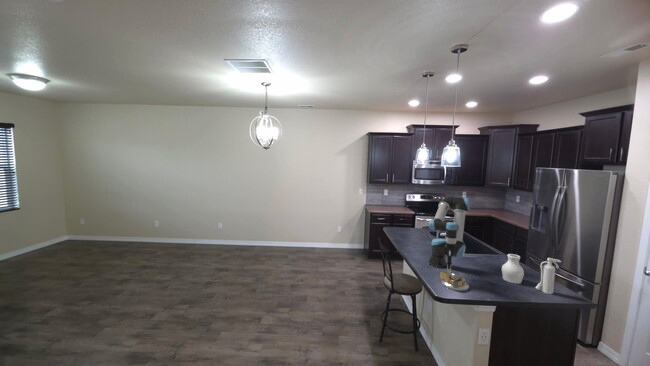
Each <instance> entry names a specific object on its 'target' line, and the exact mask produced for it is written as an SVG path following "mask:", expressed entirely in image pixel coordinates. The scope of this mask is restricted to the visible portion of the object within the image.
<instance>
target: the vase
mask: <svg viewBox="0 0 650 366" xmlns="http://www.w3.org/2000/svg"><path fill="white" fill-rule="evenodd" d="M520 259H521V256H520V255H518V254H514V253H508V254H507V261H506V262H505V263H504V264H502V265H501V273H502V279H503V281H505V282H507V283H510V284H516V285H521V284H522V281H523V279H524V275H525V271H524V268H523V267H522V266H521V265H520Z"/></svg>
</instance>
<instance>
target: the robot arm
mask: <svg viewBox="0 0 650 366" xmlns="http://www.w3.org/2000/svg"><path fill="white" fill-rule="evenodd" d="M470 207H471V205H470V199H469V198H468V197H460V196H453V195H452V196H450V195H449V196H446V197H444V198H442V199H441V200H440V201H439V202H438V207H437V208H438V209H437V211H436V213H435V216H434V217H433V220H429V222H428V228H429V230H433V231H438V232H439V231H441V232H445V237H444V238H433V239H432V240H431V248H430V249H431V250H430V256H429V259H428V262H429V263H430V264H431V265H433V266H432V267H434V266H437V267H436V268H438V267H445V268H446V272H447V273H448V274H451V272H452V265H453V263H452V258H453V257H455V258H458V259H459V258H461V259H462V258H463V257H464V256H465V253H466V244H465V242H464V240H463V239H464V237H463V236H464V229H465V219H466V214H468V213H469V211H470V210H471V208H470ZM449 210H452V212H453V213H454V215H453V222H452V221H448V222H447V221H446V222H445V218H446V216H447V212H448V211H449ZM446 256H447V260H446ZM429 263H428V264H429ZM431 265H430V266H431ZM446 266H447V267H446Z"/></svg>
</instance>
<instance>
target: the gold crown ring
mask: <svg viewBox="0 0 650 366" xmlns="http://www.w3.org/2000/svg"><path fill="white" fill-rule="evenodd" d="M439 276H440V277H439V278H440V279H441V280H442V279H444V280H445V281H446V282H447V283H449V284H450V285H453V281H456V282H458V286H461V287H462V286H464V285H465V282H466V278H464V277H462V276H460V281H457V279H454V280H451V274H449V273H447V271H444V270H441V271H440V273H439Z"/></svg>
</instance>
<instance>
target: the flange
mask: <svg viewBox="0 0 650 366" xmlns="http://www.w3.org/2000/svg"><path fill="white" fill-rule="evenodd" d="M450 275H451V280H454V279H457V281H460V277H461V274H460V273H459V272H456V271H451V273H450ZM442 284H443V285H444V286H445V287H444V286H443V285H442ZM441 285H442V286H443V287H444V288H446V289H448V288H449V289H448V290H450V291H451V290H452V291H455V292H467V291H469V288H470V285H469V284H468V282H466V281H465V285H464V286H462V287H461V286H458V282H456V281H453V285H450V284H449V283H447V282H446V281H445V280H444V279H441Z"/></svg>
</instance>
